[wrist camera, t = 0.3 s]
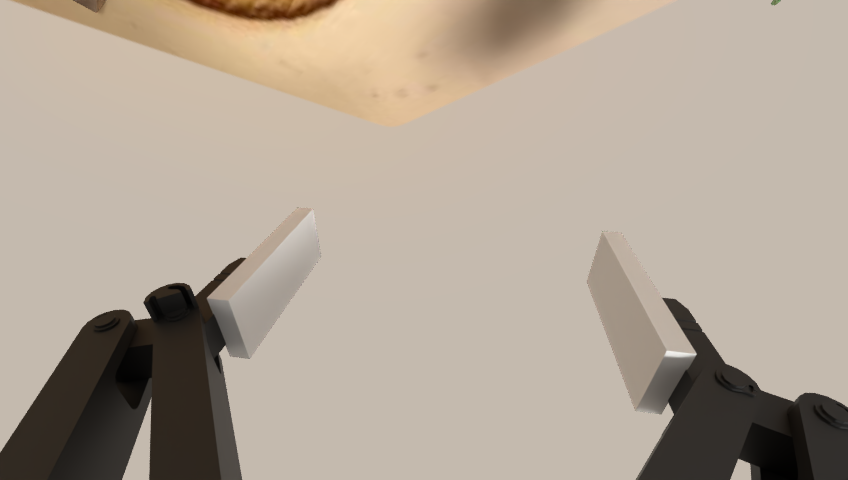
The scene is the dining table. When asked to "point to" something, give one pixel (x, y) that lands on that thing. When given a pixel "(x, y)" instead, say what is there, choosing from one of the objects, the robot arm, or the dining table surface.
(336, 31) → the dining table surface
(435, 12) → the dining table surface
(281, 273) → the robot arm
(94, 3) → the walnut frame
